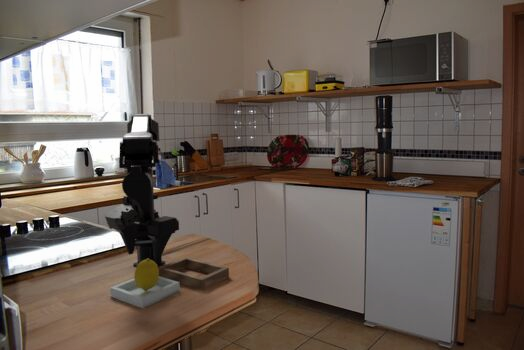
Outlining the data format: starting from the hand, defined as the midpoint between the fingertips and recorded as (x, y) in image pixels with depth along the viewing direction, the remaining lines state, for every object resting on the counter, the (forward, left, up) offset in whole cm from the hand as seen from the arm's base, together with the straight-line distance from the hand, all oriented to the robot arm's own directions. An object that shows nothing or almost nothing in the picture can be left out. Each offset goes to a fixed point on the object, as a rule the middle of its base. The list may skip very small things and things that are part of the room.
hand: (143, 257), depth 101 cm
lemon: (0, 0, -9) cm, 9 cm away
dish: (0, 0, -9) cm, 9 cm away
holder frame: (+2, +14, -9) cm, 17 cm away
